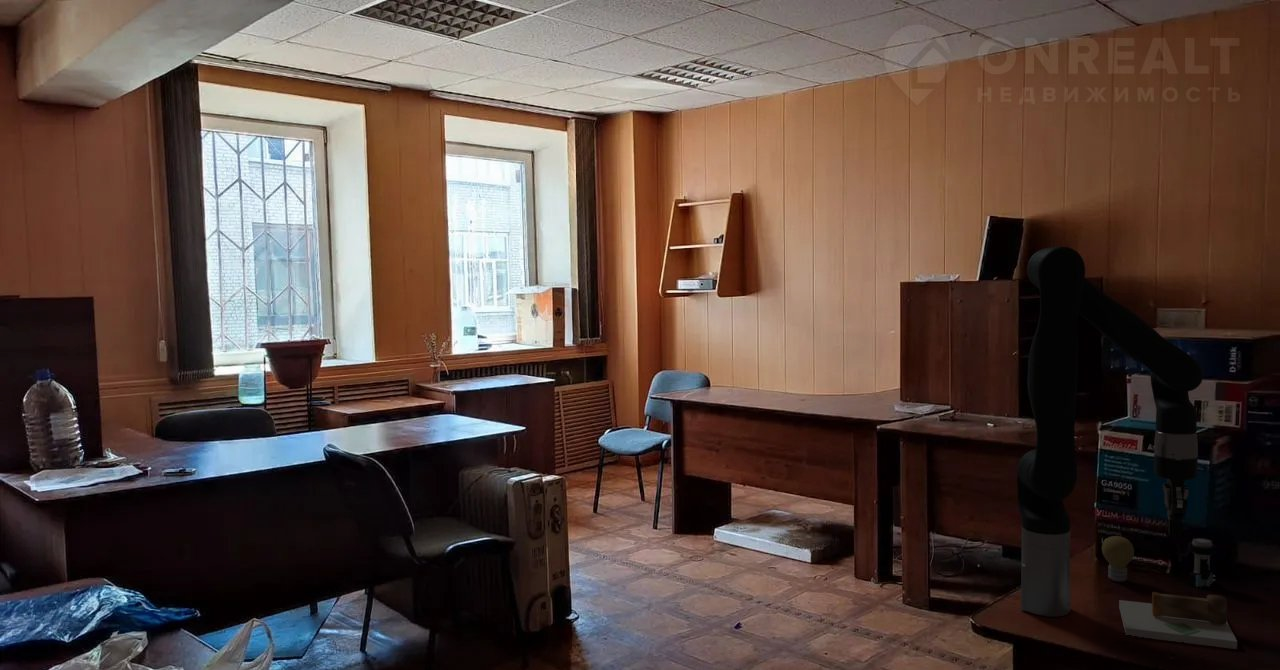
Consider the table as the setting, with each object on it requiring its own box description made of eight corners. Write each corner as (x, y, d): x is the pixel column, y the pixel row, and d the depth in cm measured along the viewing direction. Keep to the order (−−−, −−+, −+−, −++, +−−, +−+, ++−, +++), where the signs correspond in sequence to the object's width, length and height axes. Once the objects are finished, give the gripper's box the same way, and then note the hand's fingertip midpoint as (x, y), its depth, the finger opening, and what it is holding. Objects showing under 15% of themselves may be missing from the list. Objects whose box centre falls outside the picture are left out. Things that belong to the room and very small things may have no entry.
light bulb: (1095, 576, 200) (1095, 533, 199) (1121, 574, 201) (1121, 531, 200) (1113, 586, 194) (1113, 542, 193) (1140, 584, 194) (1140, 540, 194)
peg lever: (1224, 619, 170) (1224, 595, 170) (1227, 625, 167) (1228, 601, 167) (1151, 611, 175) (1151, 588, 175) (1153, 617, 172) (1153, 593, 172)
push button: (1203, 578, 197) (1203, 534, 196) (1226, 586, 192) (1227, 541, 191) (1181, 582, 194) (1182, 538, 194) (1204, 590, 189) (1205, 545, 189)
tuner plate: (1125, 635, 169) (1125, 627, 168) (1119, 607, 182) (1119, 599, 182) (1237, 649, 161) (1237, 640, 161) (1221, 618, 175) (1221, 610, 175)
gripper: (1150, 445, 184) (1150, 526, 185) (1158, 459, 172) (1158, 545, 173) (1192, 447, 181) (1191, 529, 182) (1203, 461, 169) (1202, 549, 170)
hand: (1175, 537), depth 178 cm, fingers closed
